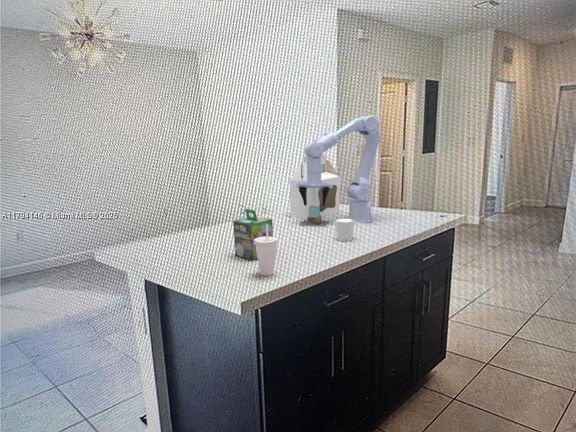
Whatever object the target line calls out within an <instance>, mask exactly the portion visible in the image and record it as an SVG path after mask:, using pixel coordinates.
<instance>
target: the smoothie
mask: <svg viewBox="0 0 576 432" xmlns="http://www.w3.org/2000/svg"><path fill="white" fill-rule="evenodd" d="M254 244H255V245H256V252H257V258H258V259H257V263H258V264H257V265H258V269H259V274H260V275H261V276H265V277H266V276H272V275H274V274H275V273H274V271H275V262H276V251H277V244H278V238H277V237H275V236H273V237H268V224H266V237H258V238H256V239H254Z"/></svg>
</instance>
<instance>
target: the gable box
mask: <svg viewBox="0 0 576 432" xmlns="http://www.w3.org/2000/svg"><path fill="white" fill-rule="evenodd" d="M328 157H329V156H328V155H327V156H326V155H325V153H323V154H322V156H321V183H332V188H330V190H329V192H328V194H327V197H326V201H325V206H322V201H323V195H322V189H323V188H307V195H306V198H307V205H306V206H304V202H303V198H302V196H301V194H300V192H299V188H297V183H307V155H306V154H305V155H304V161H302V162H301V163H299V165H298V167H297V169H295V172H294V173H293V175H292V177H290V179H289V194H290V195H289V197H290V198H289V200H290V209H289V210H290V218H294V219H302V220H303V219H304V220H307V217H308V216H309V207H310V206H320V215H321V219H323V218H326V217H328V216H332V215H336V214H339V213H340V175H339V174H338V172H337V171H336V170H335V168H334V167H333V165H332V164H331V162H330V161H329V160H328ZM309 187H319V186H309Z"/></svg>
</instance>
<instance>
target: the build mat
mask: <svg viewBox="0 0 576 432" xmlns="http://www.w3.org/2000/svg"><path fill="white" fill-rule="evenodd" d="M329 223H330V220H321V224H320V225H308V222H307V219H304V220H302V222H301V223H300V224H299V225H298V227H314V228H315V227H317V228H319V227H320V228H326V227H327V225H328V224H329Z"/></svg>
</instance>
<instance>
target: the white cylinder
mask: <svg viewBox="0 0 576 432" xmlns="http://www.w3.org/2000/svg"><path fill="white" fill-rule="evenodd" d="M334 221H335V230H336V231H335V232H336V240H337V241H340V242H350V240H351V241H353V239H354V230H355V222H354V220H353V219H348V218H337V219H335V220H334Z"/></svg>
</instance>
